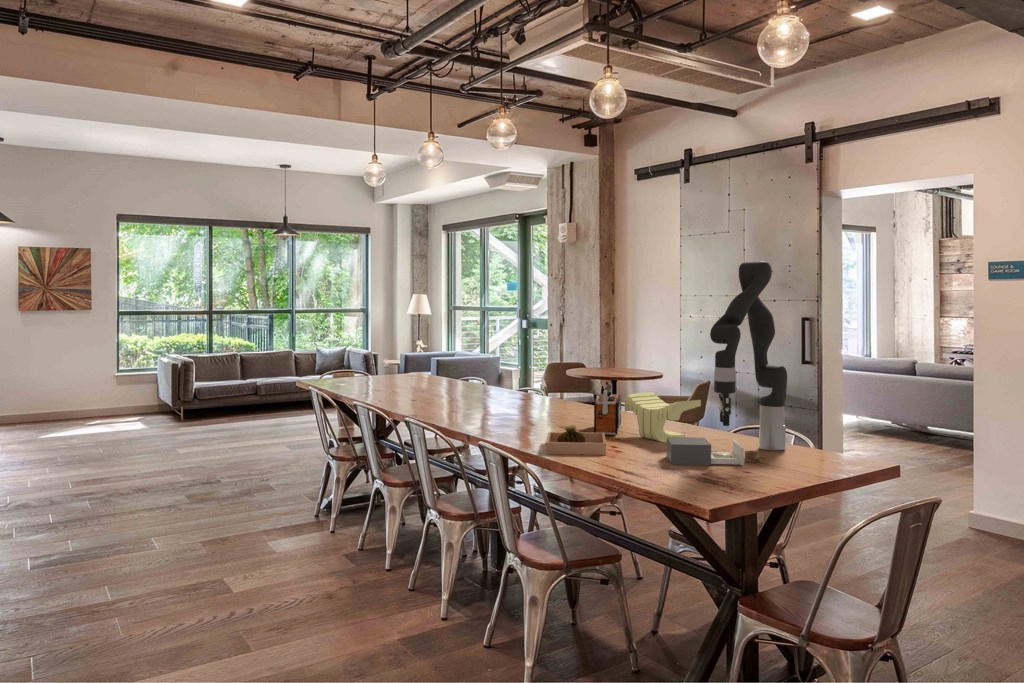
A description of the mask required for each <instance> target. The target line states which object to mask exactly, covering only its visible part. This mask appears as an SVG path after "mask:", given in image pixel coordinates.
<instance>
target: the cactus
mask: <svg viewBox="0 0 1024 683" xmlns="http://www.w3.org/2000/svg"><path fill="white" fill-rule="evenodd" d="M576 429H577V426H576V425H574V424H570V425H567V426H565V427H564V431H562V432H563V433H562V434H560V435H559V437H557V442H575V443H585V436H583V434H582V433H583V432H580V431H577V430H576Z"/></svg>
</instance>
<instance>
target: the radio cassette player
mask: <svg viewBox="0 0 1024 683" xmlns="http://www.w3.org/2000/svg"><path fill="white" fill-rule="evenodd" d="M612 390H613V388H612V383H608V384H607V385H606V387H605V388H604V390H603V394H602V393H601V394H599V395H598V396H597V398H596V399H595V400H594V402H593V408H594V409H593V413H594V414H593V428H594V429H593V433H605V436H616V435H618V430H619V427H620V425H621V424H622V395H621V394H613V393H612V392H613V391H612Z"/></svg>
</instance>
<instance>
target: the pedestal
mask: <svg viewBox="0 0 1024 683" xmlns="http://www.w3.org/2000/svg"><path fill="white" fill-rule="evenodd" d="M744 462H745V463H749V464H758V463H759V462H760V451H757V450H744Z"/></svg>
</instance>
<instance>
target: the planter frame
mask: <svg viewBox="0 0 1024 683" xmlns="http://www.w3.org/2000/svg"><path fill="white" fill-rule="evenodd" d="M563 432H564V431H562V432H560V431H554V432H553V431H548V432H547V437H546V440H545V454H546V453H547V454H546V455H581V454H583V455H585V456H589V455H591V456H593V455H596V456H601V455H602V456H603V455H604V456H606V455H607V441H606V435H605V433H594V432H581V433H582V434H583V436H585V443H575V442H557V437H559V435H560V434H562V433H563Z"/></svg>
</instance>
